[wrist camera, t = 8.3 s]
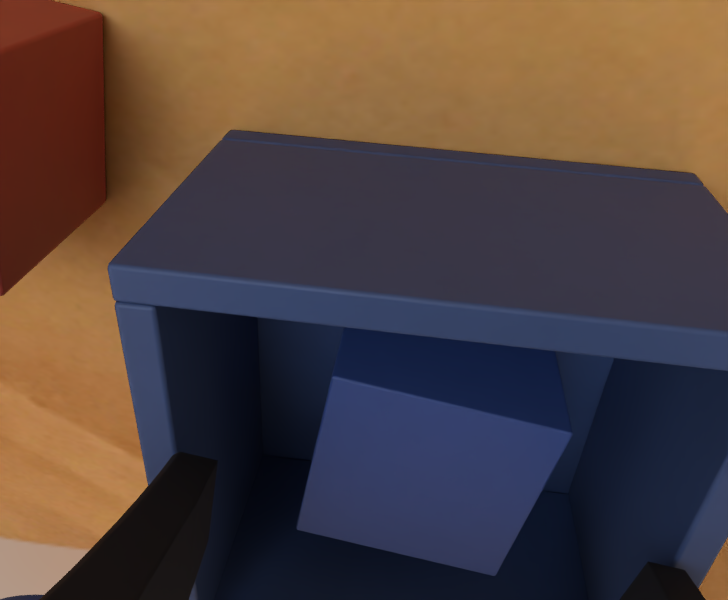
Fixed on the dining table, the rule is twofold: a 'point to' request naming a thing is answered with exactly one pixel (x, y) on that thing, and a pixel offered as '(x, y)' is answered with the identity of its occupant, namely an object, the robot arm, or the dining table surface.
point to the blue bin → (439, 320)
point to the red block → (48, 129)
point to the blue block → (434, 446)
